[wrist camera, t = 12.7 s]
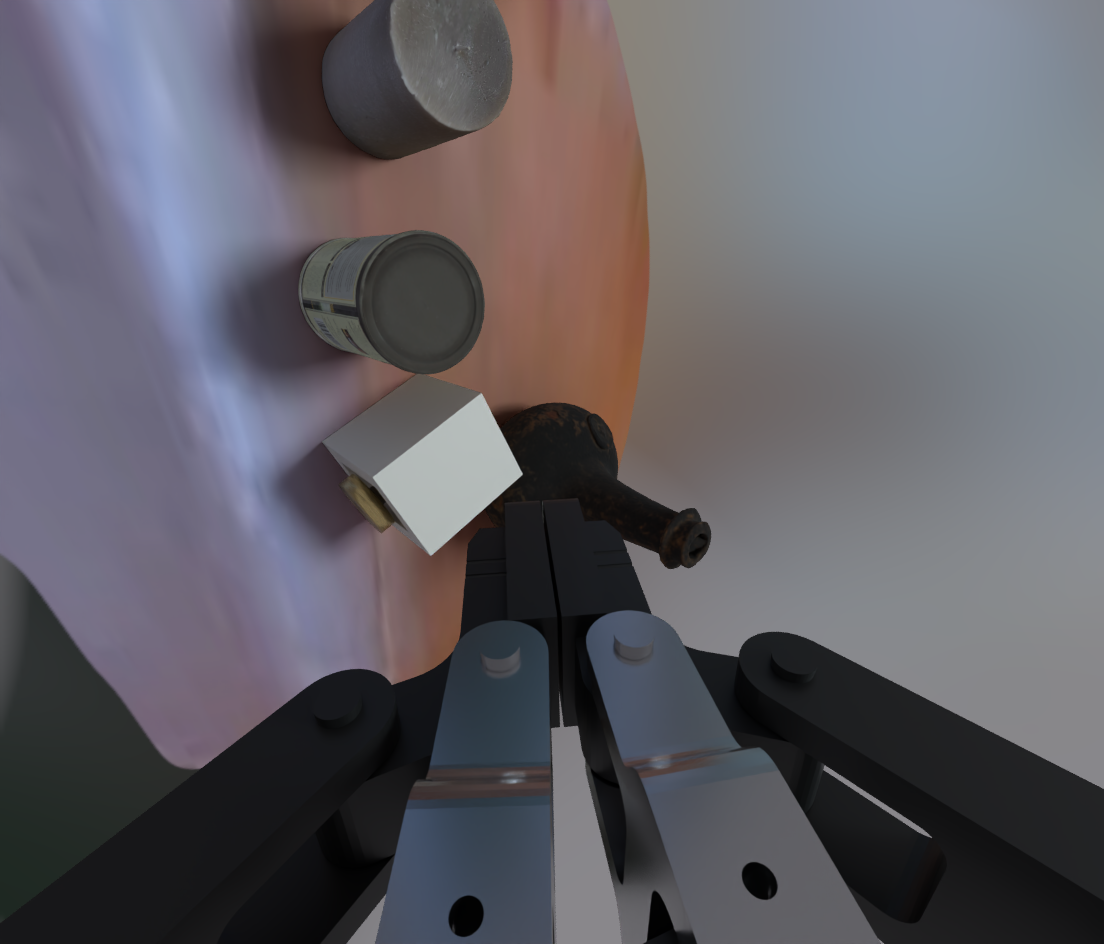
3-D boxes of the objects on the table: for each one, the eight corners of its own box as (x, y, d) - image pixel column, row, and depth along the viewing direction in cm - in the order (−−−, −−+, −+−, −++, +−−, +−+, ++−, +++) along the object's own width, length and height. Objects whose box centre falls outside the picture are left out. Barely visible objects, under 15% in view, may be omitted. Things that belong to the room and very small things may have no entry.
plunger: (365, 519, 54) (390, 541, 50) (330, 476, 51) (354, 496, 46) (451, 449, 58) (482, 465, 54) (425, 405, 55) (455, 418, 51)
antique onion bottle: (589, 429, 76) (776, 489, 56) (531, 543, 75) (701, 645, 55) (503, 366, 63) (705, 415, 44) (432, 501, 62) (606, 615, 42)
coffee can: (420, 271, 54) (503, 273, 44) (385, 368, 54) (458, 393, 44) (320, 212, 46) (390, 199, 36) (279, 325, 47) (338, 343, 37)
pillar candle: (446, 114, 51) (546, 73, 40) (380, 184, 49) (467, 160, 38) (371, -2, 45) (466, -88, 34) (291, 72, 42) (366, 5, 32)
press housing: (376, 512, 58) (430, 555, 50) (321, 441, 52) (372, 477, 44) (460, 445, 63) (522, 474, 54) (418, 372, 57) (481, 393, 48)
